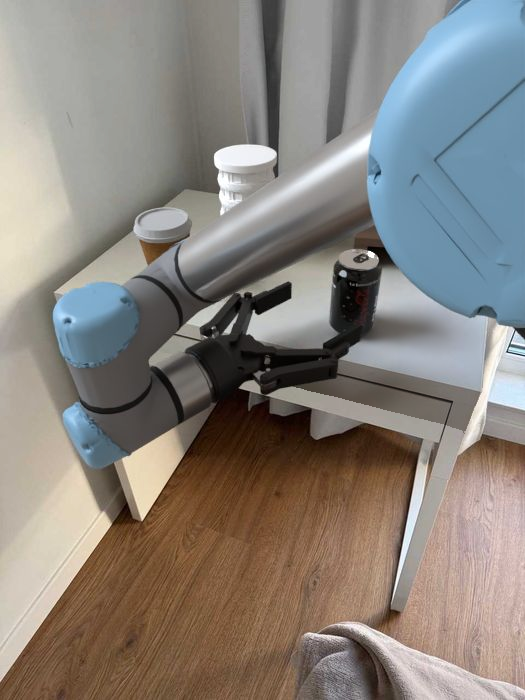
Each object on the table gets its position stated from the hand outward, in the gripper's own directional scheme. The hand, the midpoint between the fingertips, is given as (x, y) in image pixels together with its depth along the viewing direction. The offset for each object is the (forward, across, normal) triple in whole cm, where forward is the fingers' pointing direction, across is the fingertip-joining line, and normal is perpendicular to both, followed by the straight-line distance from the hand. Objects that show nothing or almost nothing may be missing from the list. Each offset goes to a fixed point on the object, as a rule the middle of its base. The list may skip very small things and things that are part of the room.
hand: (322, 309), depth 70 cm
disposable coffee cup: (-7, -30, -7) cm, 31 cm away
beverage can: (+7, 0, -7) cm, 9 cm away
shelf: (+32, -11, -6) cm, 35 cm away
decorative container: (+11, -30, -7) cm, 33 cm away
